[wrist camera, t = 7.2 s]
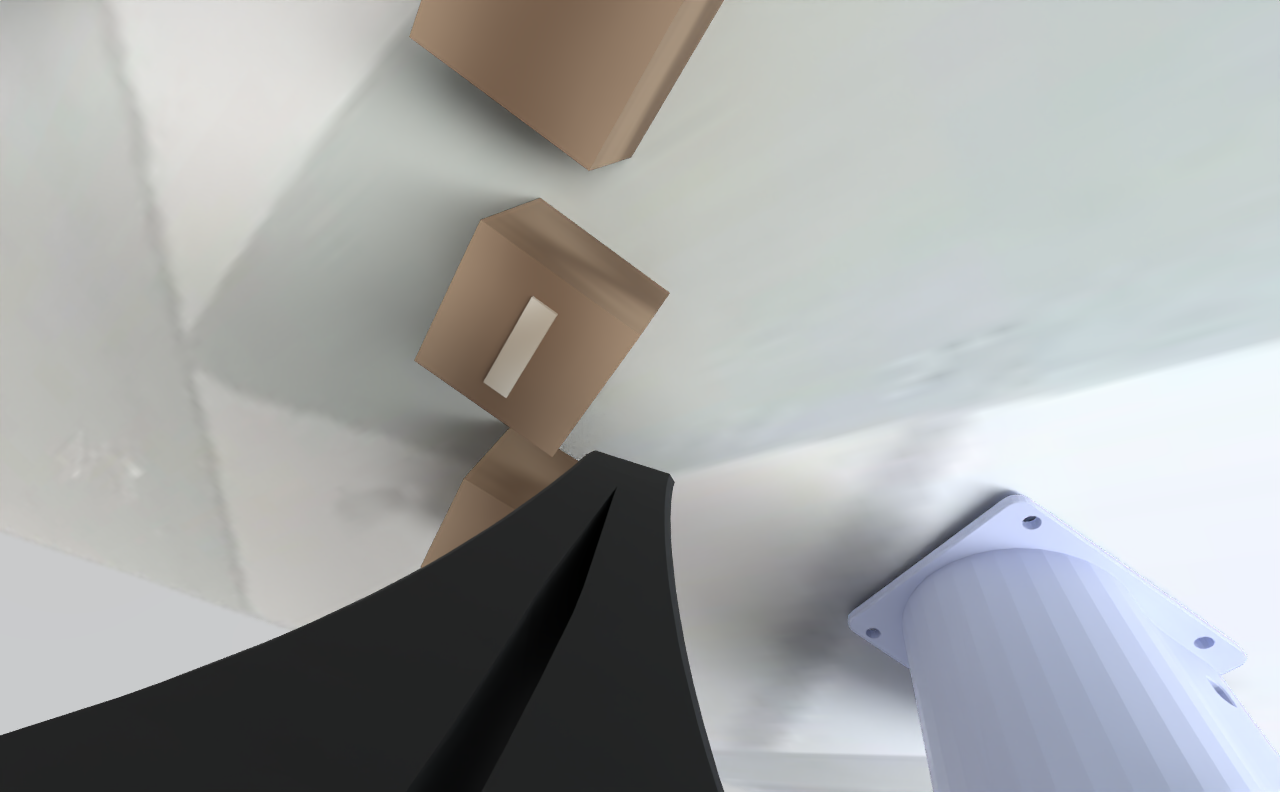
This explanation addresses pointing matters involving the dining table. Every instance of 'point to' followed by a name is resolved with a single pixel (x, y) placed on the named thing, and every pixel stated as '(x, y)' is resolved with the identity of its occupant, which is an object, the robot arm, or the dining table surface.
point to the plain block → (570, 62)
